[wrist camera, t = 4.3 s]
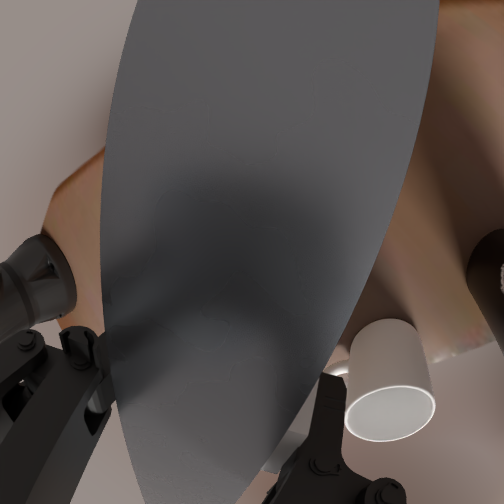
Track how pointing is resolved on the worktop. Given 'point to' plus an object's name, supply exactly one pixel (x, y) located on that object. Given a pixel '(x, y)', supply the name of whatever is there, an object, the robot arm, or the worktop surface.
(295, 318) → the rail
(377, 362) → the mug
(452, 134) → the worktop surface
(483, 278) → the water bottle
